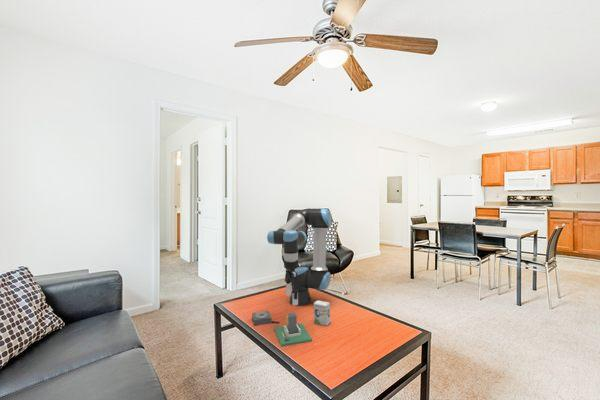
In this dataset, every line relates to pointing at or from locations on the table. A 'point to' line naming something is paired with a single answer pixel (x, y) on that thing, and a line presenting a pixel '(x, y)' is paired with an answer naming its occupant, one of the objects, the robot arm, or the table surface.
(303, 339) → the board
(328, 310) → the ink box
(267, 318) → the speaker
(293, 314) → the plug
